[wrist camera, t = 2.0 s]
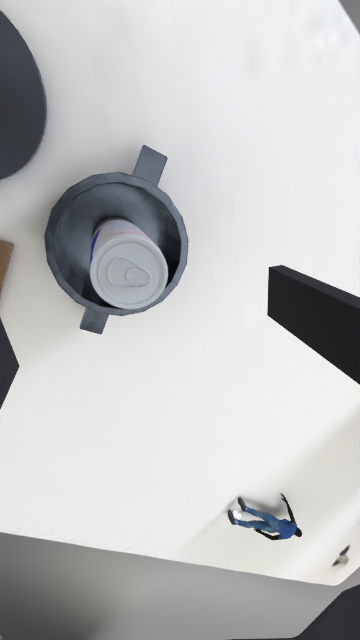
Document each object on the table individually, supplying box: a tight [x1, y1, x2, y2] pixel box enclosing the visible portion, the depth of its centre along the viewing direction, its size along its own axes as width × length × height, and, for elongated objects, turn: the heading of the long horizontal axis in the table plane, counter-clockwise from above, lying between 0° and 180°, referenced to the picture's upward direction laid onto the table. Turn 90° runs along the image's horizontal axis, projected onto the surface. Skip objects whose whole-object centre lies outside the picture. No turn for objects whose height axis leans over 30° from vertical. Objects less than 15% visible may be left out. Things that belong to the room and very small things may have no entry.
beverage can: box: [89, 216, 168, 309], centre depth 28 cm, size 6×6×15 cm
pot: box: [44, 145, 188, 334], centre depth 32 cm, size 14×19×6 cm
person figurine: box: [228, 494, 302, 540], centre depth 62 cm, size 11×4×18 cm
